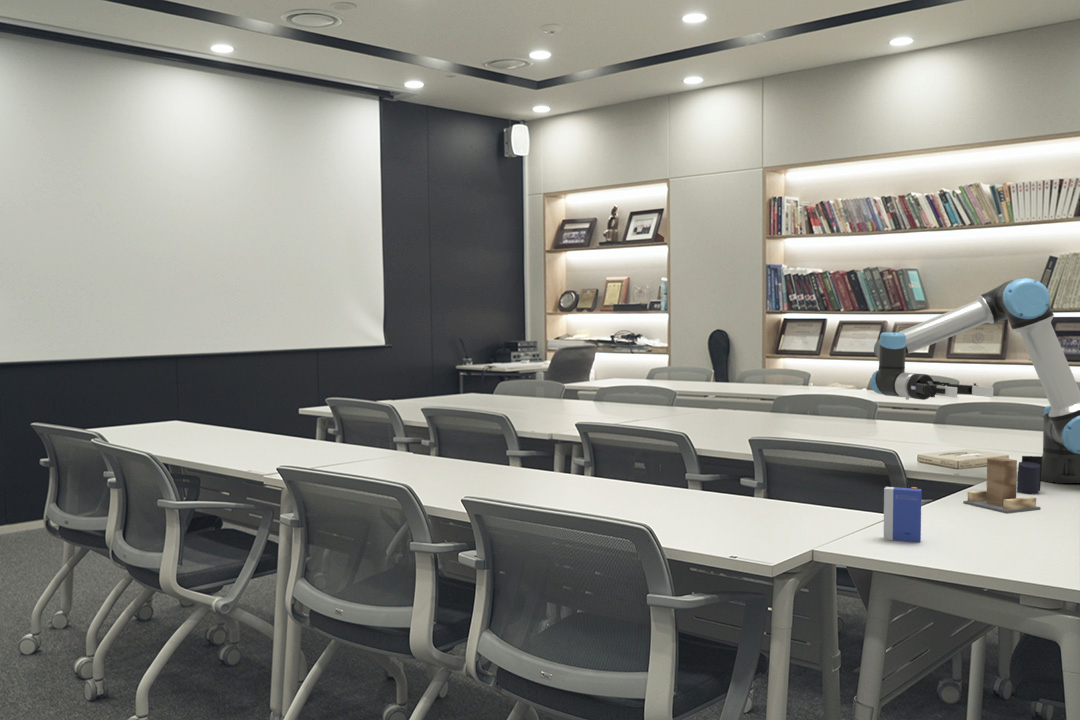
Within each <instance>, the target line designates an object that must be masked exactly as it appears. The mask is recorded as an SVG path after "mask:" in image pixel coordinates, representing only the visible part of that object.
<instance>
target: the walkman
mask: <svg viewBox="0 0 1080 720" xmlns="http://www.w3.org/2000/svg"><path fill="white" fill-rule="evenodd" d="M921 531H922V488H918V487H915V486H911V487H910V488H907V487H896V486H894V487H893V486H885V487H884V488H883V540H889V541H902V542H910V543H911V542H912V543H913V542H914V543H921V540H922V532H921Z"/></svg>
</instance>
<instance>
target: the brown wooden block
mask: <svg viewBox="0 0 1080 720" xmlns="http://www.w3.org/2000/svg"><path fill="white" fill-rule="evenodd" d="M986 459H987V460H986V490H987V502H986V503H988V504H993V505H997V506H1002V507H1003V500H1005V499H1015V498H1017V482H1018V481H1017V476H1018V470H1017V469H1018V460H1017V459H1012V458H1008V457H1007V458H1006V457H991V458H986Z"/></svg>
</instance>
